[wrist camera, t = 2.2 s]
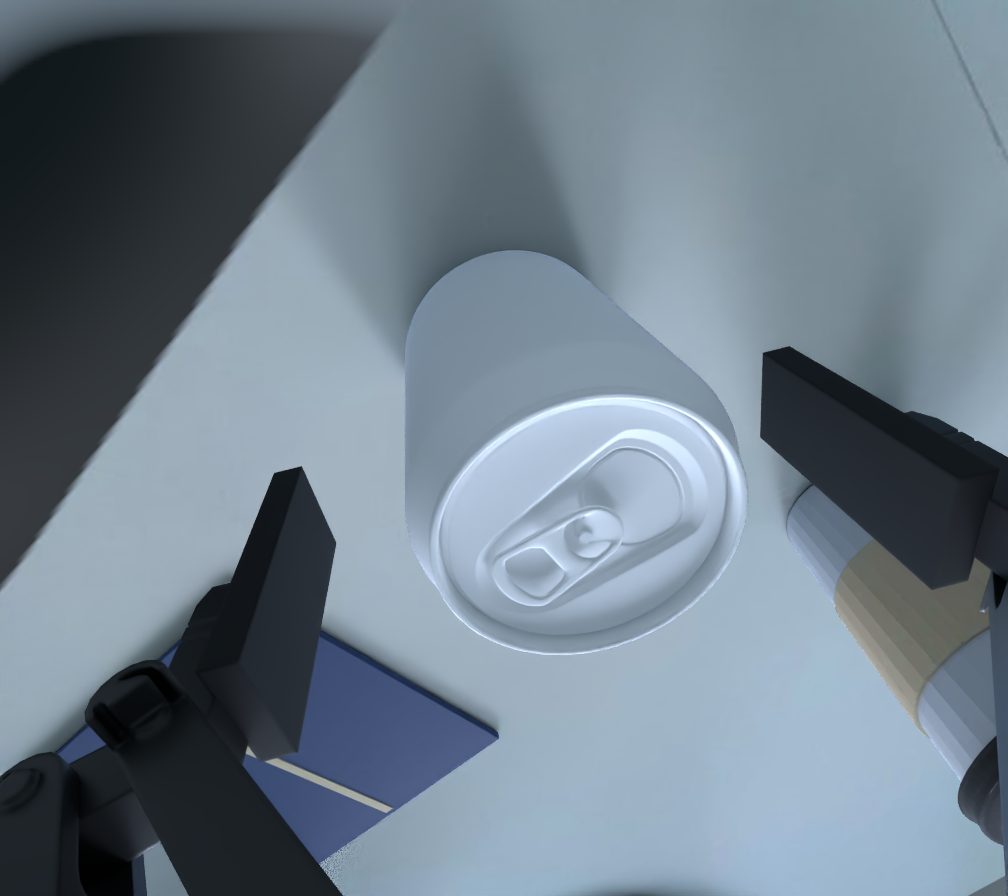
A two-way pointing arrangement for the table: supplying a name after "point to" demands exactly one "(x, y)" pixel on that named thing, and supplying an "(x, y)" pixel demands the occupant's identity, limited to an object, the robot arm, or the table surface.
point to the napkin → (351, 749)
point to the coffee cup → (914, 644)
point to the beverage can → (560, 461)
